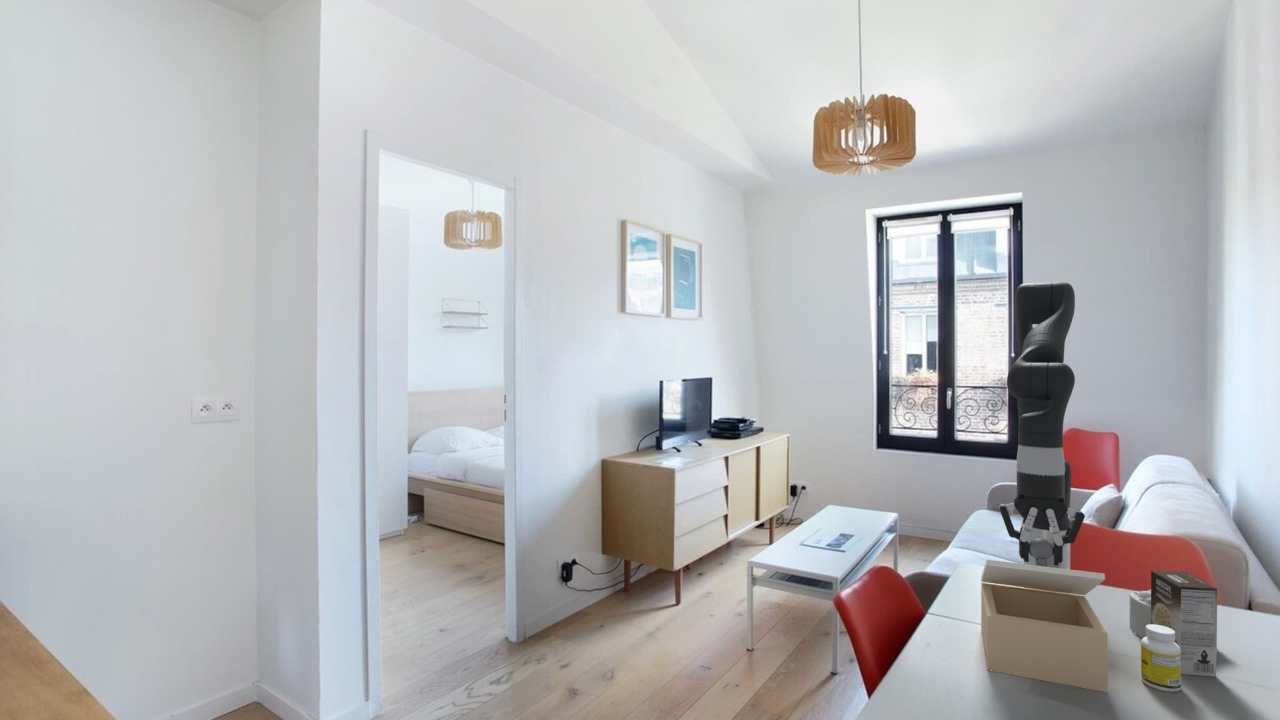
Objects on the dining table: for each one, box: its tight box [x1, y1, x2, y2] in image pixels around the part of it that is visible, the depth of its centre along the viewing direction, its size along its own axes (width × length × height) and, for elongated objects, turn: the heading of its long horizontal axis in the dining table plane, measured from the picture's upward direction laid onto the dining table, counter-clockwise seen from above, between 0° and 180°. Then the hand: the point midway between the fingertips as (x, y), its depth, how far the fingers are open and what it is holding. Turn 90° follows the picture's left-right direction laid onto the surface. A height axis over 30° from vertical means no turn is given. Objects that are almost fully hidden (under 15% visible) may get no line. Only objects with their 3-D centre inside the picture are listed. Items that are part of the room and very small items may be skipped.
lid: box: [980, 538, 1106, 596], centre depth 123 cm, size 19×18×6 cm
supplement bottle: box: [1140, 624, 1182, 693], centre depth 111 cm, size 5×5×10 cm
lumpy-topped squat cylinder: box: [1129, 589, 1151, 639], centre depth 130 cm, size 10×13×9 cm
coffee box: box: [1150, 569, 1218, 678], centre depth 118 cm, size 9×6×16 cm
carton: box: [980, 581, 1109, 693], centre depth 121 cm, size 19×18×10 cm
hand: (1040, 562), depth 118 cm, fingers closed on lid, 4 cm apart
